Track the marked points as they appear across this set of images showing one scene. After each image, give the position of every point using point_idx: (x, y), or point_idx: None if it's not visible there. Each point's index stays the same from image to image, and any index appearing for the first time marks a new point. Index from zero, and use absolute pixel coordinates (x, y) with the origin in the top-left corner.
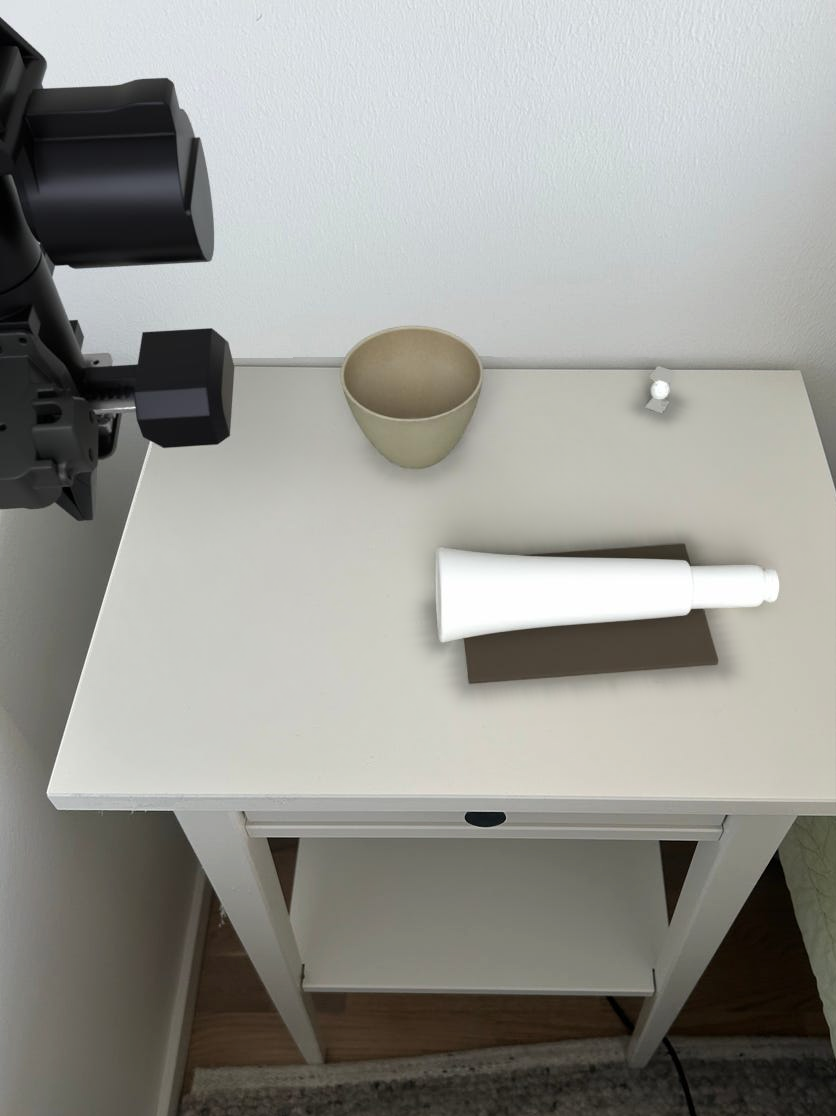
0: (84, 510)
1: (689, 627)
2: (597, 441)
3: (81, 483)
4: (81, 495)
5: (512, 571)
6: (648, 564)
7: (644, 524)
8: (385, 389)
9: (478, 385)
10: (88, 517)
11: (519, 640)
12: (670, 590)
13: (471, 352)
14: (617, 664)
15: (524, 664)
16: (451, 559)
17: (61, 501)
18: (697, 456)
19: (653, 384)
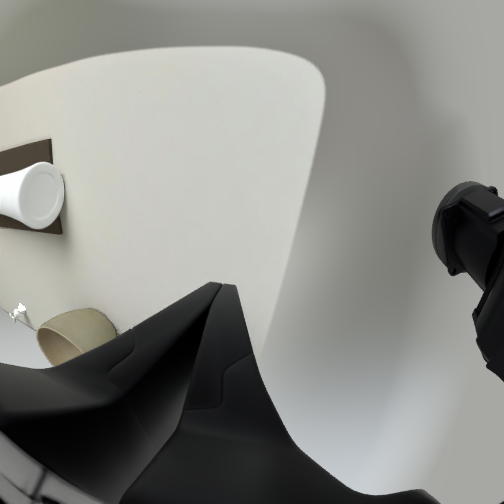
0: (203, 294)
1: None
2: (32, 296)
3: (137, 338)
4: (174, 317)
5: (2, 200)
6: None
7: (9, 241)
8: None
9: (37, 339)
10: (211, 285)
11: None
12: None
13: (51, 361)
14: (5, 153)
15: (29, 151)
16: (16, 210)
17: (227, 317)
18: (5, 275)
19: (17, 316)
